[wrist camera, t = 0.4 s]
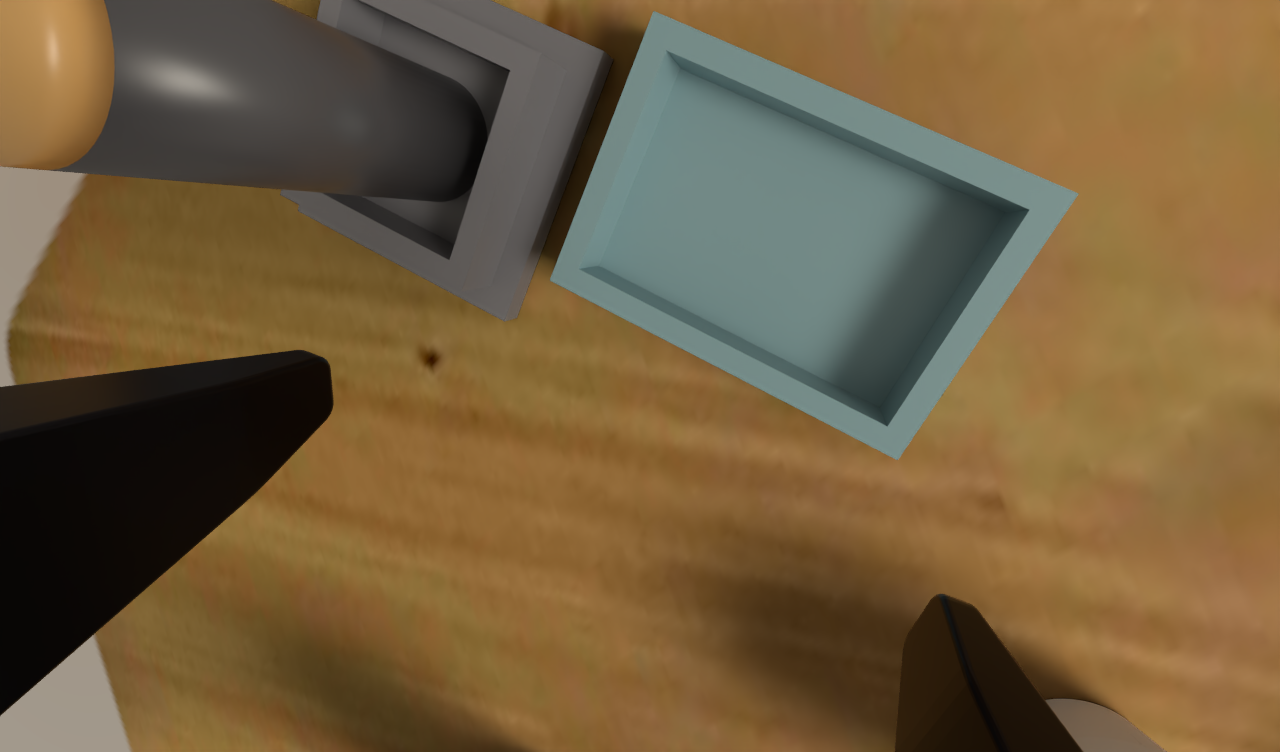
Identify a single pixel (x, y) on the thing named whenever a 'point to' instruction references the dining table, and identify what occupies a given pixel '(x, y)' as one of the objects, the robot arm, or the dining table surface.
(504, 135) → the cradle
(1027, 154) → the dining table surface
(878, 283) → the trough
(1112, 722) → the cup
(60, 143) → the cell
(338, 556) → the dining table surface
